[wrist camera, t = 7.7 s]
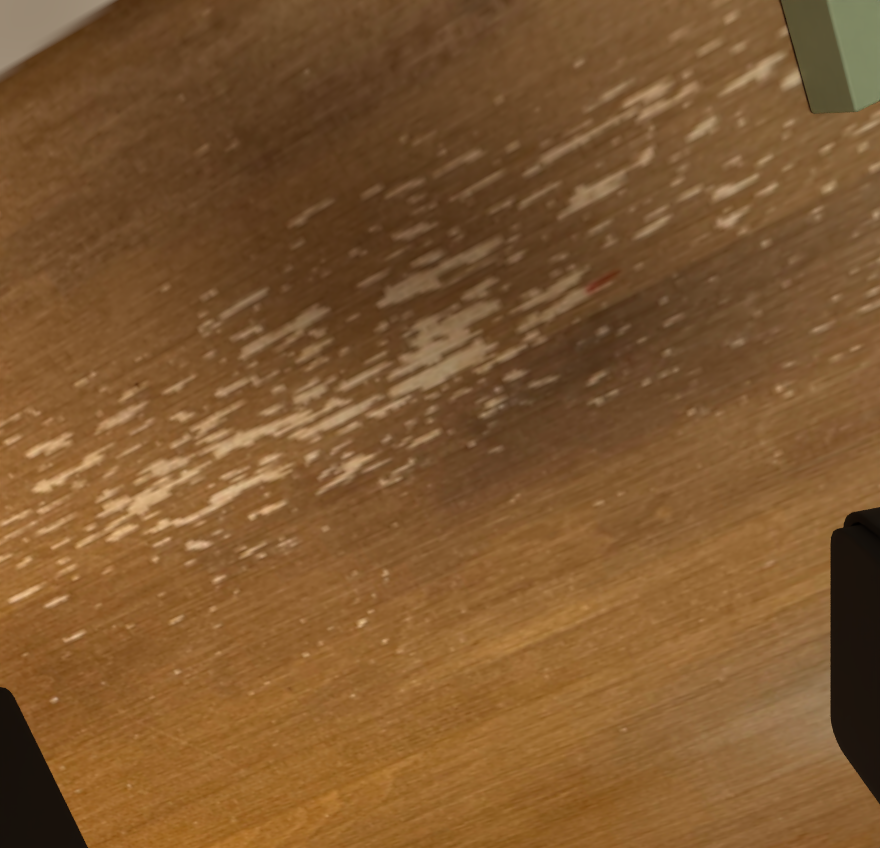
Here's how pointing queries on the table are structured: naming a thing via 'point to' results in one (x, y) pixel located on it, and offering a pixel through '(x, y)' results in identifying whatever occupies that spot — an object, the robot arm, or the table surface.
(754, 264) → the table surface
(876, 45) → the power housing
